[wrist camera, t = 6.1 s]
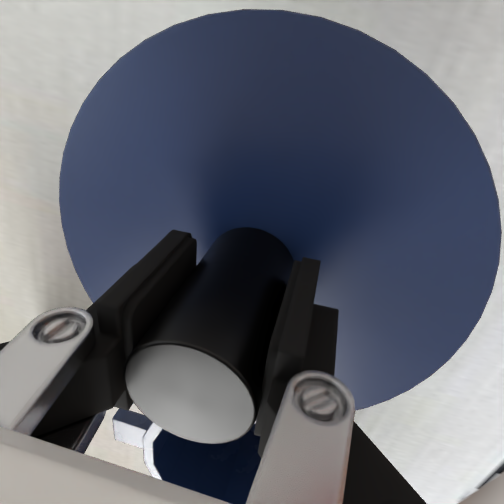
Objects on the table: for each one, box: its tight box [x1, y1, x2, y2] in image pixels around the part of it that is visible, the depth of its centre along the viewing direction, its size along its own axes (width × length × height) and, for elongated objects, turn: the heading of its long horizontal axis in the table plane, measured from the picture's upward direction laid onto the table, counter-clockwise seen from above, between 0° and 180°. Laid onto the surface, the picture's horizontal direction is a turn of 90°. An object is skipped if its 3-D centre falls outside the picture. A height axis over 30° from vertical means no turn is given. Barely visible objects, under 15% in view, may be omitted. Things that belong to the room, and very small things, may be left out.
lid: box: [59, 9, 502, 444], centre depth 11 cm, size 15×15×7 cm
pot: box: [112, 408, 261, 504], centre depth 27 cm, size 14×19×8 cm
